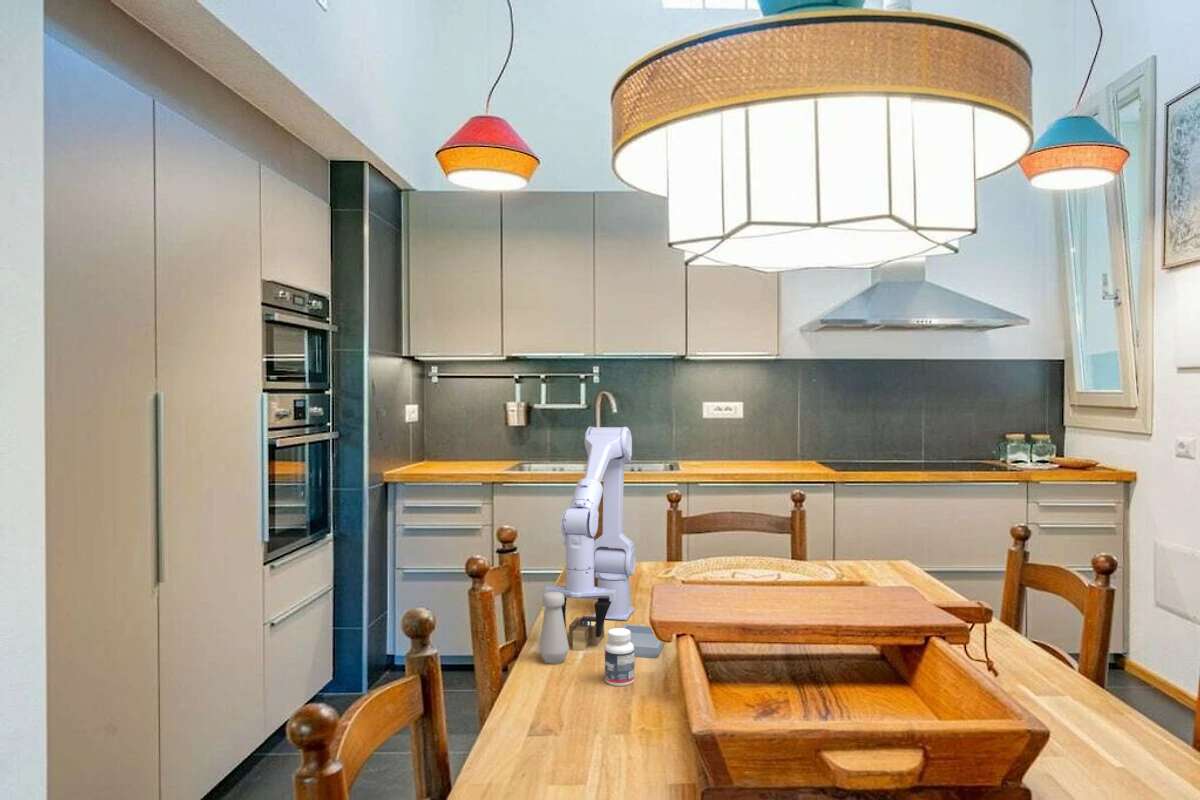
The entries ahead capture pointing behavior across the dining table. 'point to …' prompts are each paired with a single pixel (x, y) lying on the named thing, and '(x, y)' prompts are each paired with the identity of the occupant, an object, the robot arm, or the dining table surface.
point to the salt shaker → (553, 629)
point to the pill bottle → (619, 658)
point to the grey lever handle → (588, 620)
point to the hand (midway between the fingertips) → (580, 634)
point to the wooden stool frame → (583, 635)
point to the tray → (644, 641)
